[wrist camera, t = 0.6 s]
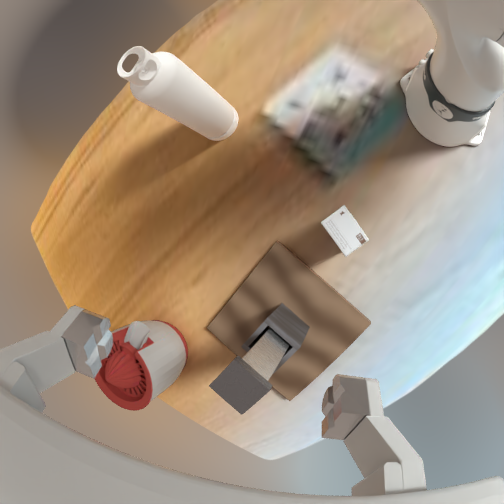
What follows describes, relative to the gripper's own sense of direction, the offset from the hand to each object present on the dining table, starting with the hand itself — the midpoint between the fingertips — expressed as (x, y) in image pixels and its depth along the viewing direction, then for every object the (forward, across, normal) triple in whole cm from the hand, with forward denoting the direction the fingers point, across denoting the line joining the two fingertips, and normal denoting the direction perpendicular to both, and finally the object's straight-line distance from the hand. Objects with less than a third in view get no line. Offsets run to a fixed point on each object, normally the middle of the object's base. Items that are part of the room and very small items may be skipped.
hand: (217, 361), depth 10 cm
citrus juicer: (+37, +16, +44) cm, 60 cm away
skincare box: (+42, -14, +12) cm, 46 cm away
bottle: (+55, +14, 0) cm, 56 cm away
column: (+34, -7, +29) cm, 46 cm away
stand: (+36, -8, +30) cm, 48 cm away
